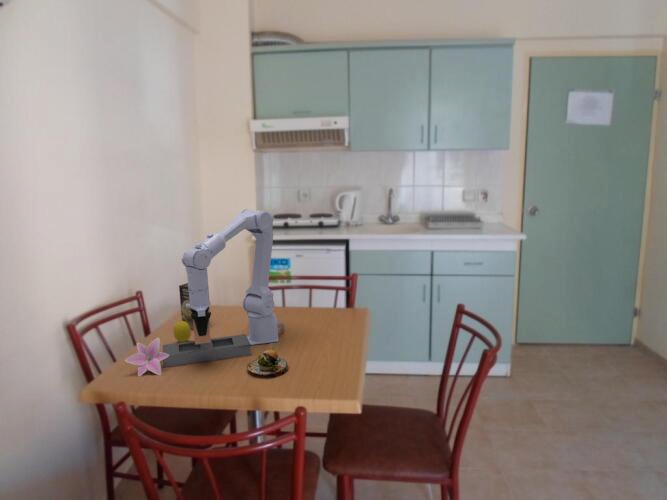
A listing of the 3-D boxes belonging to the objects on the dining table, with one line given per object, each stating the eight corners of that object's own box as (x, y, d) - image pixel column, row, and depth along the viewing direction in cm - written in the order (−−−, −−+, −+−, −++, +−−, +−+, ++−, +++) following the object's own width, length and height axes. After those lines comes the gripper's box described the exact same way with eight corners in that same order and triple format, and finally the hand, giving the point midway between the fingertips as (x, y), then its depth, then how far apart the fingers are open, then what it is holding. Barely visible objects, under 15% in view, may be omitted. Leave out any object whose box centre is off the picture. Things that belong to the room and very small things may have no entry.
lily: (121, 377, 142) (119, 357, 137) (143, 350, 151) (141, 331, 146) (156, 390, 141) (155, 370, 136) (176, 362, 150) (175, 343, 145)
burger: (242, 367, 145) (241, 343, 144) (280, 359, 150) (279, 336, 149) (253, 383, 135) (251, 357, 133) (293, 374, 139) (292, 349, 138)
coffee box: (181, 327, 182) (177, 285, 179) (194, 322, 187) (191, 281, 184) (198, 331, 177) (195, 288, 174) (211, 326, 182) (208, 284, 179)
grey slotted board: (246, 344, 163) (245, 334, 162) (250, 355, 154) (250, 344, 153) (163, 355, 155) (162, 344, 155) (163, 367, 146) (162, 356, 145)
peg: (209, 337, 150) (207, 315, 149) (210, 342, 146) (208, 319, 145) (194, 339, 149) (192, 317, 148) (195, 344, 145) (193, 321, 144)
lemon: (186, 346, 162) (184, 323, 161) (171, 345, 163) (169, 322, 162) (194, 340, 168) (192, 318, 166) (179, 339, 169) (177, 317, 167)
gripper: (183, 284, 150) (187, 327, 153) (185, 296, 137) (189, 342, 139) (207, 282, 153) (210, 324, 155) (211, 293, 139) (214, 339, 141)
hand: (202, 332), depth 147 cm, fingers closed on peg, 4 cm apart
